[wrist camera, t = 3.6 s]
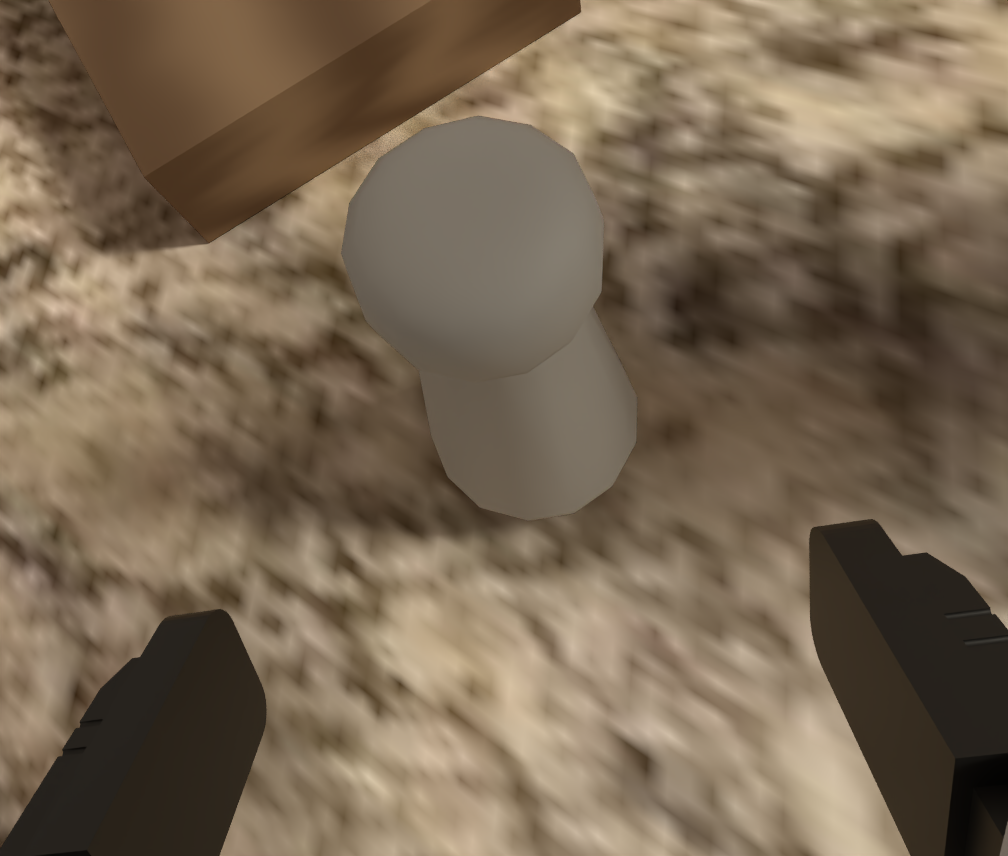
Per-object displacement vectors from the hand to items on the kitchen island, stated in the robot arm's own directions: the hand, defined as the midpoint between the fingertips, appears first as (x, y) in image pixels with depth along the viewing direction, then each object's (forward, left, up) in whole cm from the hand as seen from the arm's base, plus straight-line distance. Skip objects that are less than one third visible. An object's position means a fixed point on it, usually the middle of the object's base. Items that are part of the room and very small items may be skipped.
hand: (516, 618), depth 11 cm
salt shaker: (-3, -5, -12) cm, 14 cm away
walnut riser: (-5, -26, -12) cm, 29 cm away
